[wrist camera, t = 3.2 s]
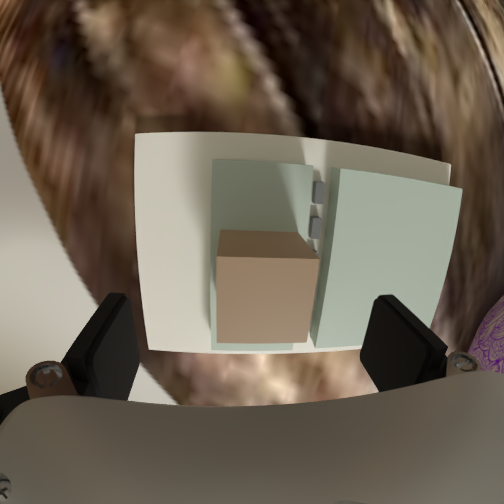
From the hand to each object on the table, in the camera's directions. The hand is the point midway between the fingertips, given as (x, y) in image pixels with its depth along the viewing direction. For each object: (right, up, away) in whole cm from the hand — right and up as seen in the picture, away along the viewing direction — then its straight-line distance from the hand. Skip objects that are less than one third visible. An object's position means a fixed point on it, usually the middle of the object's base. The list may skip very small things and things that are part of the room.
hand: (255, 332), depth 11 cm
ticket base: (+3, +3, +8) cm, 9 cm away
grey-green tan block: (0, +3, +7) cm, 7 cm away
